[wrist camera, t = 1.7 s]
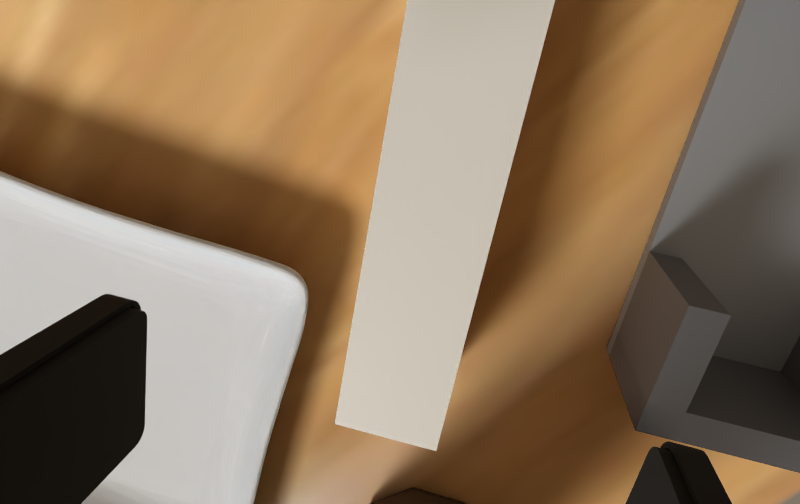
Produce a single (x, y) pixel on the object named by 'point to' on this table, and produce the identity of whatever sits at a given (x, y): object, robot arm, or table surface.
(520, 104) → the beige rectangular block
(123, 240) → the salad plate
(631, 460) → the table surface
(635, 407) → the endcap jig
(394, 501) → the beer bottle
